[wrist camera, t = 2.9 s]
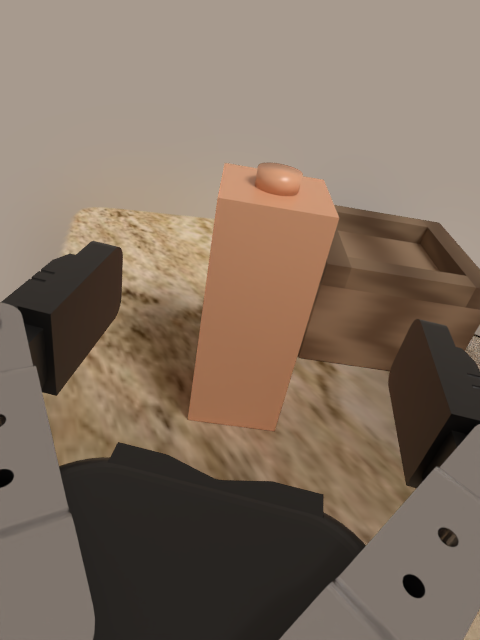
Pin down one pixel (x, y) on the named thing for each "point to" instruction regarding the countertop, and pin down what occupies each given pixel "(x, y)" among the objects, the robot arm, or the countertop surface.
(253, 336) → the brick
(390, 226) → the wooden box
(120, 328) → the countertop surface
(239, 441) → the countertop surface
